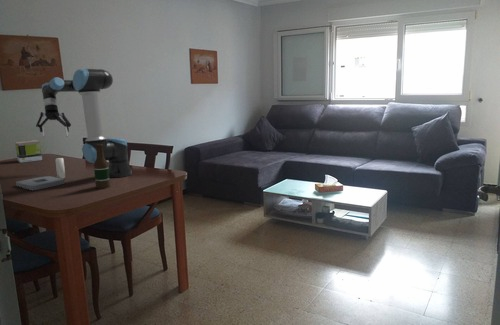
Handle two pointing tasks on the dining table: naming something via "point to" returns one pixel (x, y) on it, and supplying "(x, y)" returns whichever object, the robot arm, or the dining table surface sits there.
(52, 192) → the dining table surface
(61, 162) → the peg
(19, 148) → the tea box
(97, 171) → the beer bottle
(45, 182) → the socket plate
